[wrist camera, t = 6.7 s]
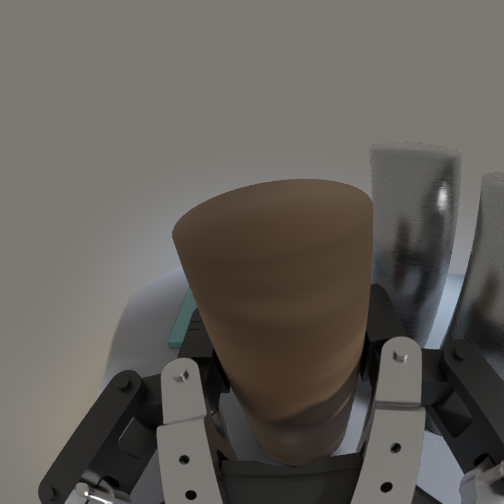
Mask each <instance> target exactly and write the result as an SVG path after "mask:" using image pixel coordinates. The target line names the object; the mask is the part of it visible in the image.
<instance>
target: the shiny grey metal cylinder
mask: <svg viewBox="0 0 504 504" xmlns="http://www.w3.org/2000/svg"><path fill="white" fill-rule="evenodd" d="M455 339H463V340H466V341H468V342H470V343H471V344H472V345H473V346H474V347H475V348H476V349H477V350H478V351H479V352H480V353H481V355H482V356H483V357H484V358H485V359H486V361H487V362H488V363H489V364H490V365H491V367H492V368H493V369H494V370H495V371H496V373H497V374H498V375H499V376H500V378H501V379H502V380H503V381H504V173H500V172H497V173H496V172H493V173H487V174H485V175H483V177H482V184H481V194H480V203H479V210H478V218H477V224H476V230H475V235H474V240H473V245H472V250H471V255H470V259H469V263H468V267H467V271H466V274H465V278H464V282H463V285H462V289H461V292H460V295H459V298H458V301H457V304H456V307H455V310H454V313H453V316H452V319H451V321H450V324H449V327H448V329H447V332H446V334H445V337H444V339H443V342H442V344H441V346H440V349H439V350H444V348H445V346H446V345H447V344H448V343H449V342H450V341H452V340H455ZM422 406H424V405H422ZM425 412H426V415H425V426H426V427H427V428H428V429H429V430H430V431H432V432H433V433H435V434H437V435H440V436H442V434H441V433H440V431H439V429H438V428H437V426H436V425H435V423H434V421H433V420H432V418H431V417H430V415H429V413H428V412H427V410H426V409H425Z"/></svg>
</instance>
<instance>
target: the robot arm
mask: <svg viewBox="0 0 504 504" xmlns="http://www.w3.org/2000/svg"><path fill="white" fill-rule="evenodd" d="M360 375H361V379H362V381H368V380H370V383H371V392H370V396H369V402H368V407H367V412H366V417H365V421H364V426H363V430H362V434H361V438H360V441H359V444H358V447H357V450H356V453H352V454H346V455H340V456H333V457H326V458H323V459H320V460H317V461H314V462H311V463H308V464H304V465H301V466H298V467H294V468H284V467H279V466H274V465H269V464H264V463H260V462H256V461H237V458H236V455H235V453H234V451H233V449H232V447H231V444H230V441H229V437H228V433H227V429H226V425H225V421H224V417H223V413H222V409H221V405H220V403H219V399H220V393H229V392H230V383H229V381H228V378H227V376H226V374H225V372H224V370H223V367H222V365H221V363H220V360H219V358H218V356H217V354H216V351H215V349H214V347H213V344H212V342H211V339H210V337H209V335H208V332H207V330H206V327H205V325H204V322H203V320H202V317H201V315H200V312H199V310H198V307H197V308H196V309H195V310H194V311H193V313H192V316H191V319H190V323H189V325H188V328H187V331H186V334H185V337H184V340H183V343H182V346H181V349H180V352H179V355H178V358H177V359H175V360H173V361H171V362H170V363H168V364H167V365H166V366H165V367H164V369H163V371H162V373H161V374H158V375H154V376H149V377H145V378H141V377H140V376H139V374H138V373H137V372H135V371H132V370H126V371H122V372H120V373H118V374H117V375H115V376H114V377H113V379H112V380H111V381H110V383H109V384H108V385H107V387H106V388H105V389H104V391H103V392H102V394H101V395H100V396H99V398H98V399H97V400H96V402H95V403H94V405H93V406H92V407H91V409H90V410H89V412H88V413H87V415H86V416H85V417H84V419H83V420H82V422H81V423H80V425H79V426H78V427H77V429H76V430H75V432H74V433H73V435H72V436H71V437H70V439H69V441H68V442H67V443H66V445H65V446H64V448H63V449H62V451H61V452H60V454H59V455H58V457H57V458H56V460H55V461H54V463H53V464H52V466H51V467H50V469H49V471H48V472H47V474H46V475H45V477H44V478H43V480H42V481H41V483H40V485H39V489H38V493H39V498H40V501H41V503H42V504H132V503H131V499H130V497H129V495H130V493H131V492H132V490H133V488H134V487H135V485H136V483H137V481H138V480H139V478H140V476H141V475H142V473H143V471H144V469H145V468H146V466H147V464H148V463H149V461H150V459H151V457H152V456H153V454H154V452H155V450H156V449H157V447H158V455H159V464H160V472H161V480H162V487H163V494H164V501H163V502H162V503H160V504H442V503H441V502H439V501H438V500H437V499H435V498H434V497H432V496H431V495H429V494H428V493H427V492H425V491H424V490H422V489H421V488H420V487H418V486H417V485H416V481H417V476H418V471H419V465H420V459H421V452H422V445H423V437H424V428H425V415H426V412H425V409H426V410H427V412H428V413H429V415H430V417H431V418H432V420H433V421H434V423H435V425H436V426H437V428H438V429H439V431H440V433H441V434H442V436H443V438H444V439H445V441H446V443H447V445H448V446H449V448H450V450H451V451H452V453H453V455H454V457H455V458H456V460H457V462H458V464H459V466H460V467H461V469H462V471H463V473H464V476H463V478H462V480H461V483H460V488H459V493H460V495H461V500H462V501H461V504H504V381H503V380H502V379H501V378H500V376H499V375H498V374H497V373H496V371H495V370H494V369H493V368H492V367H491V365H490V364H489V363H488V362H487V361H486V359H485V358H484V357H483V356H482V355H481V353H480V352H479V351H478V350H477V349H476V348H475V347H474V346H473V345H472V344H471V343H470V342H468V341H466V340H463V339H455V340H452V341H450V342H449V343H448V344H447V345H446V346H445V348H444V350H438V349H424V348H421V347H420V346H419V345H418V344H417V343H416V342H415V341H414V340H412V339H410V338H408V337H407V335H406V332H405V330H404V328H403V326H402V323H401V321H400V319H399V317H398V314H397V312H396V310H395V309H394V306H393V304H392V302H391V299H390V297H389V295H388V293H387V291H386V290H385V289H384V288H382V287H381V286H380V285H379V284H371V286H370V298H369V308H368V317H367V325H366V333H365V340H364V347H363V353H362V359H361V365H360ZM422 405H424V406H422ZM132 417H133V420H132V422H131V423H130V425H129V426H128V428H127V429H126V431H125V433H124V434H123V436H122V437H121V439H120V440H119V438H120V436H121V434H122V433H123V431H124V430H125V428H126V427H127V425H128V424H129V422H130V420H131V419H132ZM118 440H119V442H118Z"/></svg>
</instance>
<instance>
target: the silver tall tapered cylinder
mask: <svg viewBox="0 0 504 504" xmlns="http://www.w3.org/2000/svg"><path fill="white" fill-rule="evenodd" d="M369 148H370V163H371V183H372V203H373V253H372V273H371V284H379V285H380V286H381V287H382V288H384V289H385V290H386V291H387V293H388V295H389V297H390V299H391V302H392V304H393V306H394V309H395V310H396V312H397V314H398V317H399V319H400V321H401V323H402V326H403V328H404V330H405V332H406V335H407V337H408V338H410V339H412V340H414V341H415V342H416V343H417V344H418V345H419V346H420V347H421V348H423V347H424V346H425V345H426V343H427V340H428V337H429V335H430V332H431V329H432V326H433V323H434V320H435V317H436V314H437V310H438V307H439V304H440V300H441V296H442V293H443V289H444V285H445V281H446V277H447V273H448V268H449V264H450V259H451V254H452V248H453V243H454V237H455V231H456V224H457V216H458V207H459V197H460V184H461V154H460V153H459V152H458V151H455V150H453V149H450V148H447V147H443V146H438V145H433V144H426V143H417V142H384V143H377V144H374V145H371V146H370V147H369Z"/></svg>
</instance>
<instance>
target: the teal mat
mask: <svg viewBox="0 0 504 504" xmlns="http://www.w3.org/2000/svg"><path fill="white" fill-rule="evenodd" d="M196 308H197V305H196V302H195V299H194V297H193V294H192V292H191V289H190V287H189V289H188V292H187V294H186V297H185V299H184V301H183V304H182V306H181V309H180V311H179V314H178V316H177V319H176V321H175V324H174V326H173V329H172V332H171V334H170V337H169V339H168V342H167V343H168V344H169V346H170V348H181V346H182V343H183V340H184V337H185V334H186V331H187V328H188V325H189V323H190V319H191V316H192V313H193V311H194V310H195V309H196Z"/></svg>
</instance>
